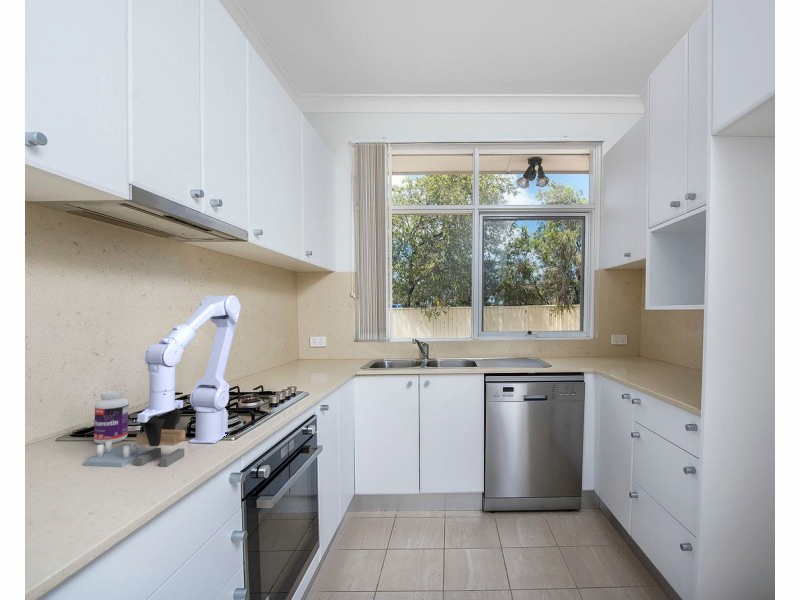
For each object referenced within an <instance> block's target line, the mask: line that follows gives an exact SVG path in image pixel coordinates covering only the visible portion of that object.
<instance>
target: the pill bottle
mask: <svg viewBox="0 0 800 600" xmlns="http://www.w3.org/2000/svg"><path fill="white" fill-rule="evenodd" d="M124 396H125V390H119V389H117V390H108V391H107V390H106V391H103V392H101V393H100V399H101V400H98V401H97V402H96V404H95V406H94V425H93V427H94V428H93V430H94V431H93V442H94V443H96V444H97V445H99V444H104V445H105V442H106V441H112V444H115V443H119V442H122V441H123V440H125V439H126V438H127V437H128V432H129V429H128V428H129V426H128V425H129V400H128V399H127V398H124Z"/></svg>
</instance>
